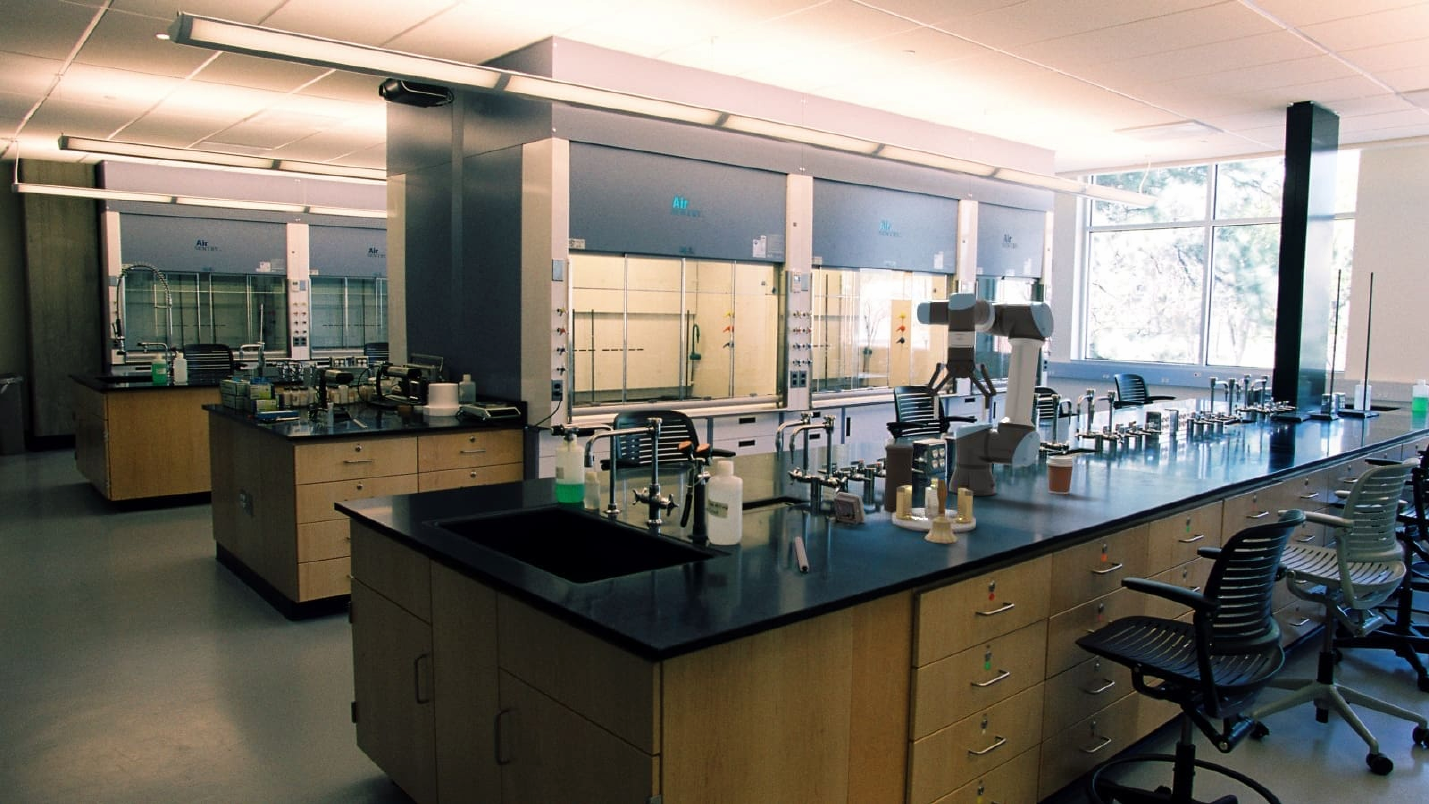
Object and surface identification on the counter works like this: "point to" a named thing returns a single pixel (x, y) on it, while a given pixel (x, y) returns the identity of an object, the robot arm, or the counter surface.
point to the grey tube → (801, 553)
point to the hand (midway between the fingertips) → (959, 419)
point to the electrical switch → (849, 508)
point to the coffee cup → (1060, 474)
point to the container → (897, 472)
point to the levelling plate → (927, 522)
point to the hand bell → (941, 520)
